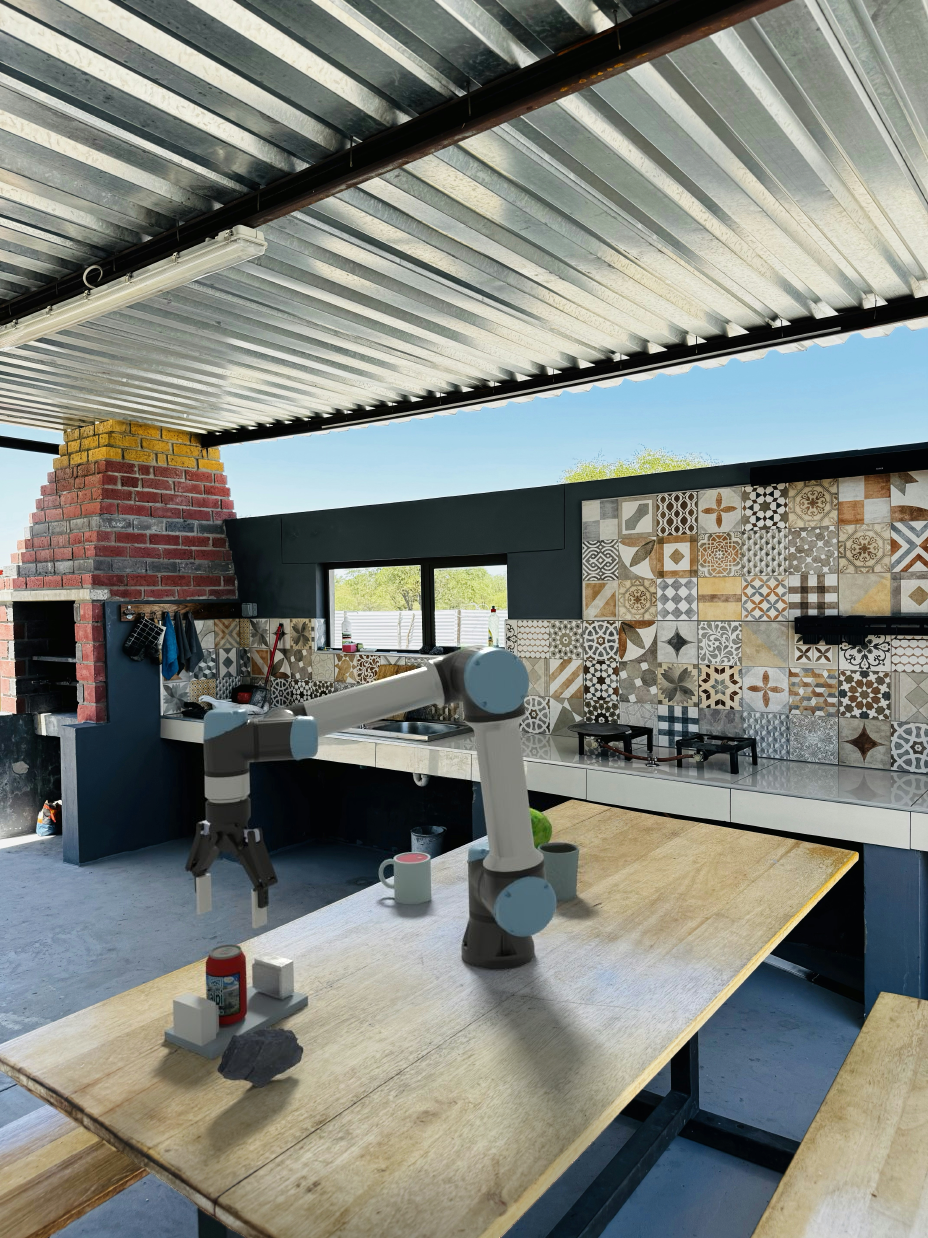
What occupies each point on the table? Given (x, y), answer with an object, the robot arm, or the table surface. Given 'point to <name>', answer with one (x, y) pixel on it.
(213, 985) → the beverage can
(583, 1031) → the table surface
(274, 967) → the block
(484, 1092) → the table surface
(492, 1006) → the table surface
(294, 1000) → the vise bed
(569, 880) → the grey-green cup
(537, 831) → the lettuce
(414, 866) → the mug
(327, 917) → the table surface
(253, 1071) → the stone
